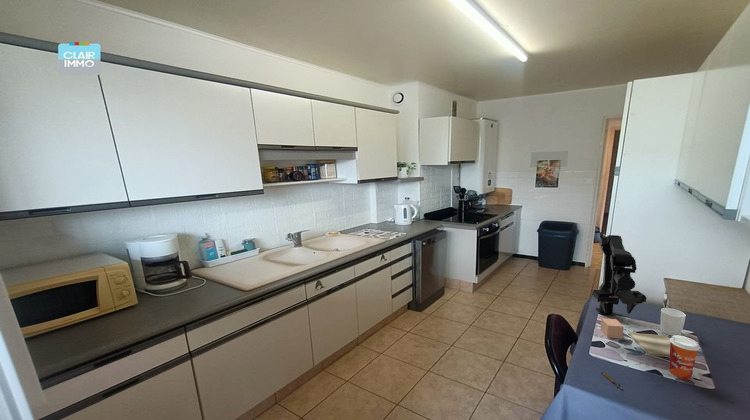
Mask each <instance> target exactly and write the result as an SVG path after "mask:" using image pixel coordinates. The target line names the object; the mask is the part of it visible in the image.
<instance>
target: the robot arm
mask: <svg viewBox="0 0 750 420" xmlns="http://www.w3.org/2000/svg"><path fill="white" fill-rule="evenodd" d="M599 247H600V250H601V252H602V253H603V255H604V256H603V281H602V283H601V284H600V285H599V287H598V289H593V290H592V291H591V295H592V296H593V297H594V299H595V300H596V302H597V303H599V305H598V307H595V310H596V311H597V312H598V313H599V314H600V315H601V316H612V317H613V316H617V314H616V313H615V312H614V305H617V306H618V305H619V302H620V303H621V304H623V305H626V314H628V315H630V314H631V313H632V311H633V310H634V309H635V307H636V306H637V305H639V304H643V303H647V299H648V298H647V296H646V295H645V294H644V293H643V292H640V291H639V290H634V288H635V287H636V281H635V280H634V278H633V277H632V276H631V274H636V271H637V264H636V262H637V261H636V259H635V257H634V256H633V255H632V254H631V252H630V251H628V250H626V249H625V246H624V244H623V238H622V236H621V235H617V234H616V235H615V234H609V235H606V236H604V237H601V238H600V239H599Z"/></svg>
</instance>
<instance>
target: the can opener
mask: <svg viewBox="0 0 750 420" xmlns="http://www.w3.org/2000/svg"><path fill="white" fill-rule="evenodd" d="M601 374H602V376H603V377H605V378H606V379H607V380H609V381H610V382H611V383H612V384H614V387H615V386H617V387H618V388H619V389H620V390H621V391H624V388H623V387H622V385H621V384H620V383H617V382H616V381H615V380H614V379H612V378H611V377H610V376H609V374H607V373H605V371H601Z"/></svg>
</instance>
